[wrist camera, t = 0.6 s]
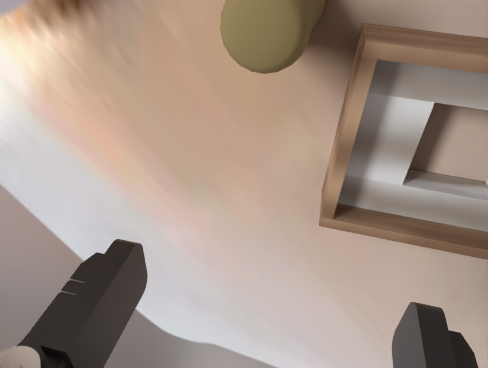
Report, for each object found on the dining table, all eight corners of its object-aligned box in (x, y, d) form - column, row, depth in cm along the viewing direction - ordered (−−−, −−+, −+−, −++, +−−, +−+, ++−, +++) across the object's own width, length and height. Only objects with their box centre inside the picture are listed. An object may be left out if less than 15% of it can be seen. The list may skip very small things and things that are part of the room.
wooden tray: (362, 23, 28) (365, 41, 24) (659, 59, 25) (724, 87, 21) (322, 190, 38) (318, 225, 33) (535, 230, 35) (562, 274, 30)
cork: (344, -12, 27) (343, 18, 18) (294, 55, 31) (273, 108, 22) (277, -66, 26) (243, -62, 17) (234, 10, 30) (187, 45, 21)
